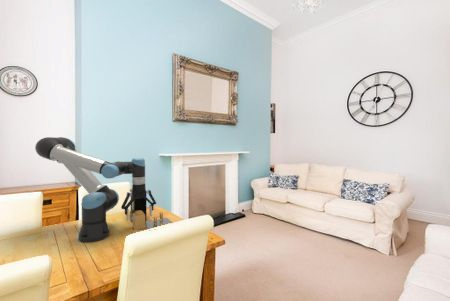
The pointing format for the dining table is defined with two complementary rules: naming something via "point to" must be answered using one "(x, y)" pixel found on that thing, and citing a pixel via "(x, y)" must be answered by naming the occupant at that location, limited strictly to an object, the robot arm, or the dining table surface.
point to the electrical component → (138, 206)
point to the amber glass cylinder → (155, 221)
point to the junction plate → (151, 223)
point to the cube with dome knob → (138, 220)
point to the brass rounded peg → (161, 216)
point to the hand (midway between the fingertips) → (139, 217)
